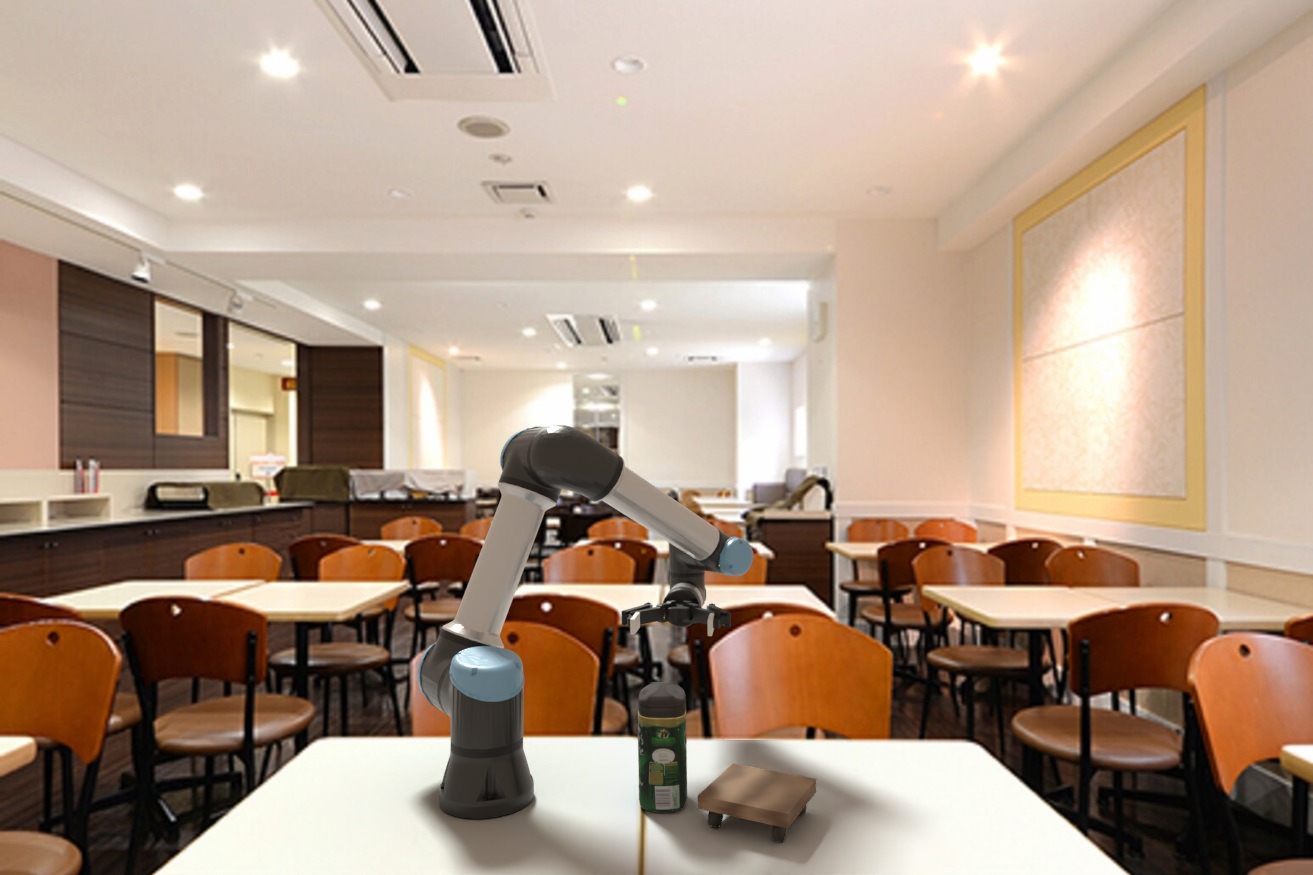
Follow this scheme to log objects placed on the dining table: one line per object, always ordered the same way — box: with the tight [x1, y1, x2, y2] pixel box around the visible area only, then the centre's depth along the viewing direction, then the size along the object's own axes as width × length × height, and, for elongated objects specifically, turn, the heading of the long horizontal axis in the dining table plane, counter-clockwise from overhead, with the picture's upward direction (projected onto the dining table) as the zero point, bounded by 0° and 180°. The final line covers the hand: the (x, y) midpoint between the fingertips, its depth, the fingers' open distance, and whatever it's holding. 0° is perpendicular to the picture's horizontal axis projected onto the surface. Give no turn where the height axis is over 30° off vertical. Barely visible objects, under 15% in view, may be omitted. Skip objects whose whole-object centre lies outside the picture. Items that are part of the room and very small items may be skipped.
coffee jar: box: [637, 681, 688, 814], centre depth 128 cm, size 10×8×19 cm
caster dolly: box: [697, 763, 817, 843], centre depth 121 cm, size 14×14×5 cm
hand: (670, 627), depth 138 cm, fingers open, 13 cm apart
